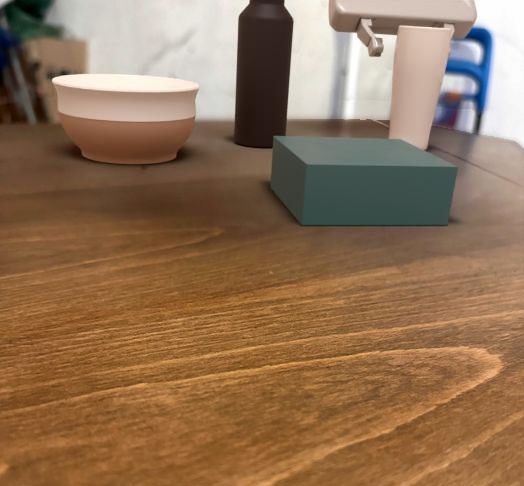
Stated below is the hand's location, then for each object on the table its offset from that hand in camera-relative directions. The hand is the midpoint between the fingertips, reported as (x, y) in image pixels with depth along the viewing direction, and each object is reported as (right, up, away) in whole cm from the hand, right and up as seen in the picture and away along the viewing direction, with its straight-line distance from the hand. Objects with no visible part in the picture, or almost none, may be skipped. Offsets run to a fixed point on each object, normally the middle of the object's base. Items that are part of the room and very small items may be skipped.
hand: (410, 55), depth 88 cm
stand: (-11, -26, -26) cm, 39 cm away
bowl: (-35, -17, -11) cm, 40 cm away
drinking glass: (0, -12, +2) cm, 12 cm away
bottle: (-20, -12, 0) cm, 23 cm away
